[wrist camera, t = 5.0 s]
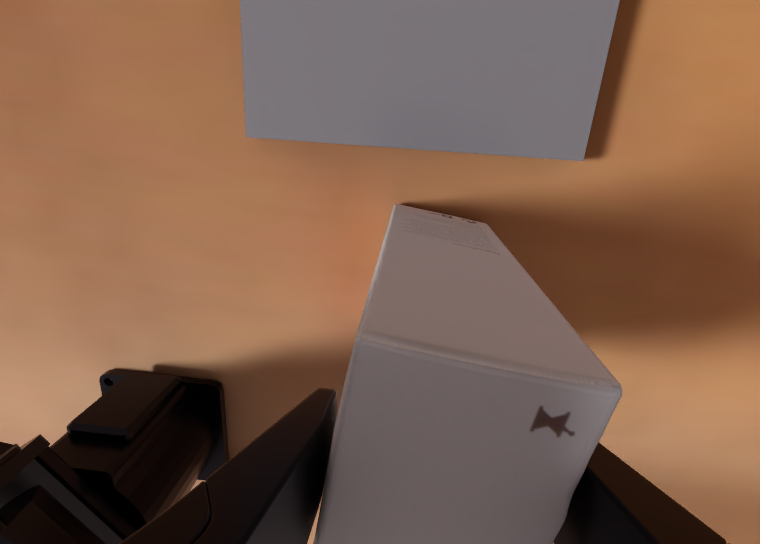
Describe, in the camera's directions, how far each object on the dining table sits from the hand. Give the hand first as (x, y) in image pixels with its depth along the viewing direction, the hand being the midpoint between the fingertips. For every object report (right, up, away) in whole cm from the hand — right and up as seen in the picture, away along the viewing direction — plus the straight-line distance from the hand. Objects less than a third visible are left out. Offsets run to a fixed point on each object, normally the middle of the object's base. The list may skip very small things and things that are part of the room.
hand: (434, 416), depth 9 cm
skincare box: (+1, +3, +9) cm, 10 cm away
